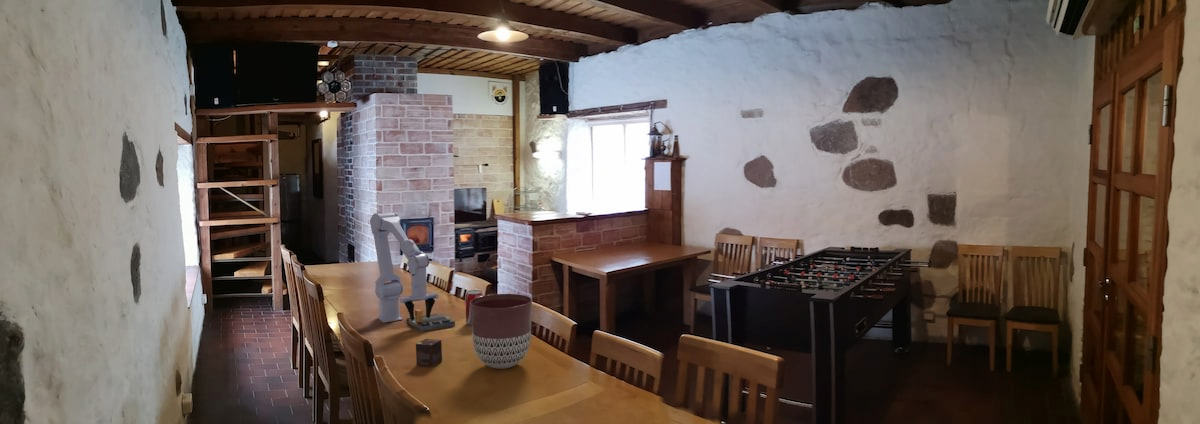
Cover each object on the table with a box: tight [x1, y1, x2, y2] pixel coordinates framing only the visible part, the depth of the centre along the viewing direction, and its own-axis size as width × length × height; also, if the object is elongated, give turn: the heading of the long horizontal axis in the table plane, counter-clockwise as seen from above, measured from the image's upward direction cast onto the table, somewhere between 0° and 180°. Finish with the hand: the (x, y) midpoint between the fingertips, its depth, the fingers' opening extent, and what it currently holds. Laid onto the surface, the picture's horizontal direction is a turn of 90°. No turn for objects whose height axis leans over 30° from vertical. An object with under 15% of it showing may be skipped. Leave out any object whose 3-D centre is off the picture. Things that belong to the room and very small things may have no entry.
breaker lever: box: [414, 308, 424, 322], centre depth 247 cm, size 3×2×4 cm, turn 34°
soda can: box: [464, 289, 484, 326], centre depth 252 cm, size 7×7×13 cm
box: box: [415, 338, 443, 368], centre depth 205 cm, size 6×6×7 cm
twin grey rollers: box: [406, 313, 438, 323], centre depth 258 cm, size 4×13×2 cm, turn 124°
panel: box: [407, 313, 456, 333], centre depth 251 cm, size 14×14×3 cm
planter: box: [470, 293, 533, 370], centre depth 202 cm, size 20×20×21 cm
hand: (420, 318), depth 248 cm, fingers open, 6 cm apart
